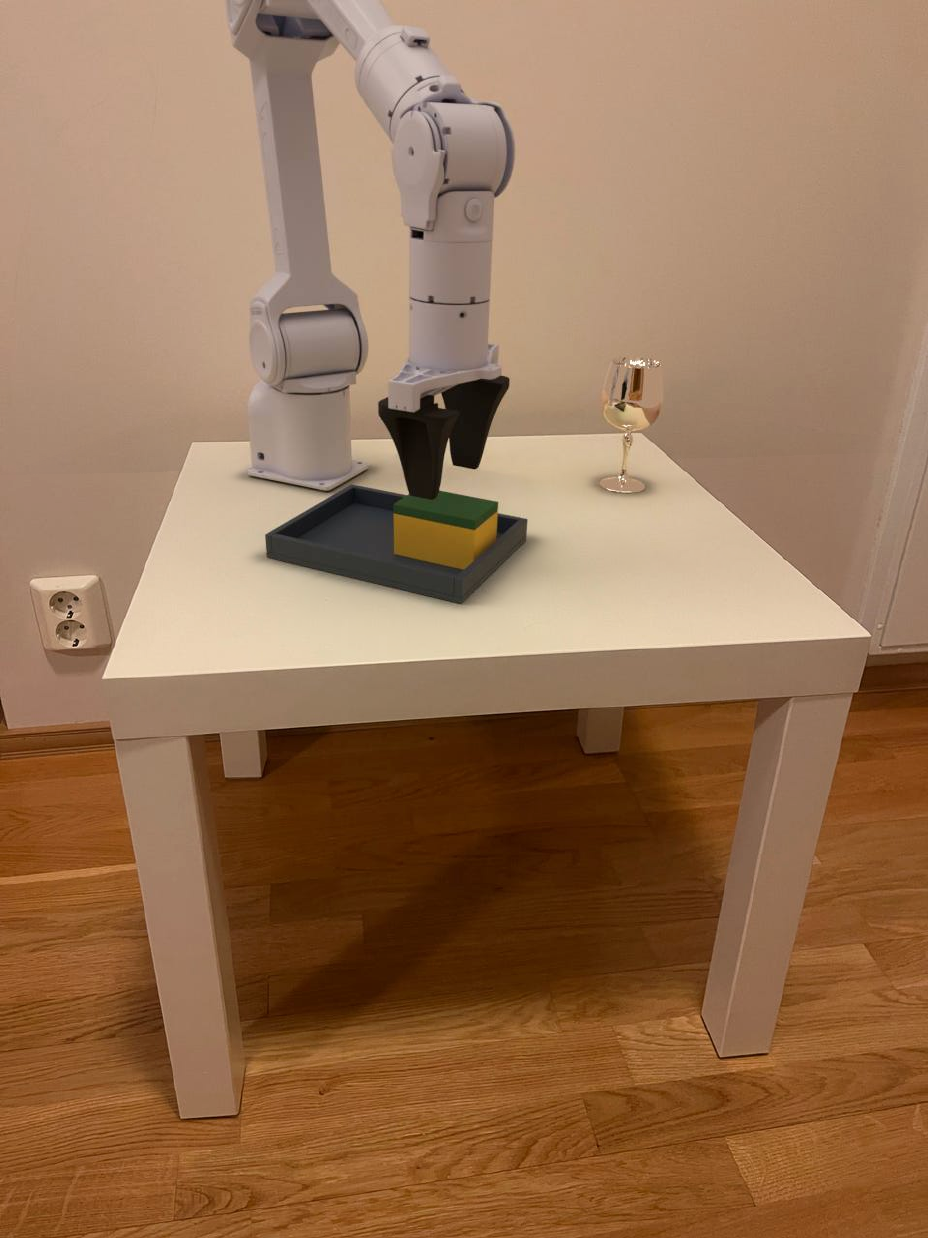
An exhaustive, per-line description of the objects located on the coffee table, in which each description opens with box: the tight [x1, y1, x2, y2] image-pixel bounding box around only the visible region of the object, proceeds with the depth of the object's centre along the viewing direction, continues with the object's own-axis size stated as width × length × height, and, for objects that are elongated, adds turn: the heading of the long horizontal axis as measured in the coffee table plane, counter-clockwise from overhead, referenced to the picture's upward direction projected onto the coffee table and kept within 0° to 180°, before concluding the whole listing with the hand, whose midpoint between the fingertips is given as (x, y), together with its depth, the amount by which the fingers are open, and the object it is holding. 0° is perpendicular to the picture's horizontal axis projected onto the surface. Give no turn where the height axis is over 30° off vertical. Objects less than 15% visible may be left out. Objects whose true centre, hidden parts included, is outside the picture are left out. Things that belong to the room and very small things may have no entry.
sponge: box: [394, 490, 499, 570], centre depth 72 cm, size 7×4×4 cm, turn 65°
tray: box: [264, 484, 528, 605], centre depth 74 cm, size 17×13×2 cm
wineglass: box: [599, 356, 665, 494], centre depth 87 cm, size 6×6×12 cm
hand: (445, 480), depth 71 cm, fingers open, 7 cm apart
